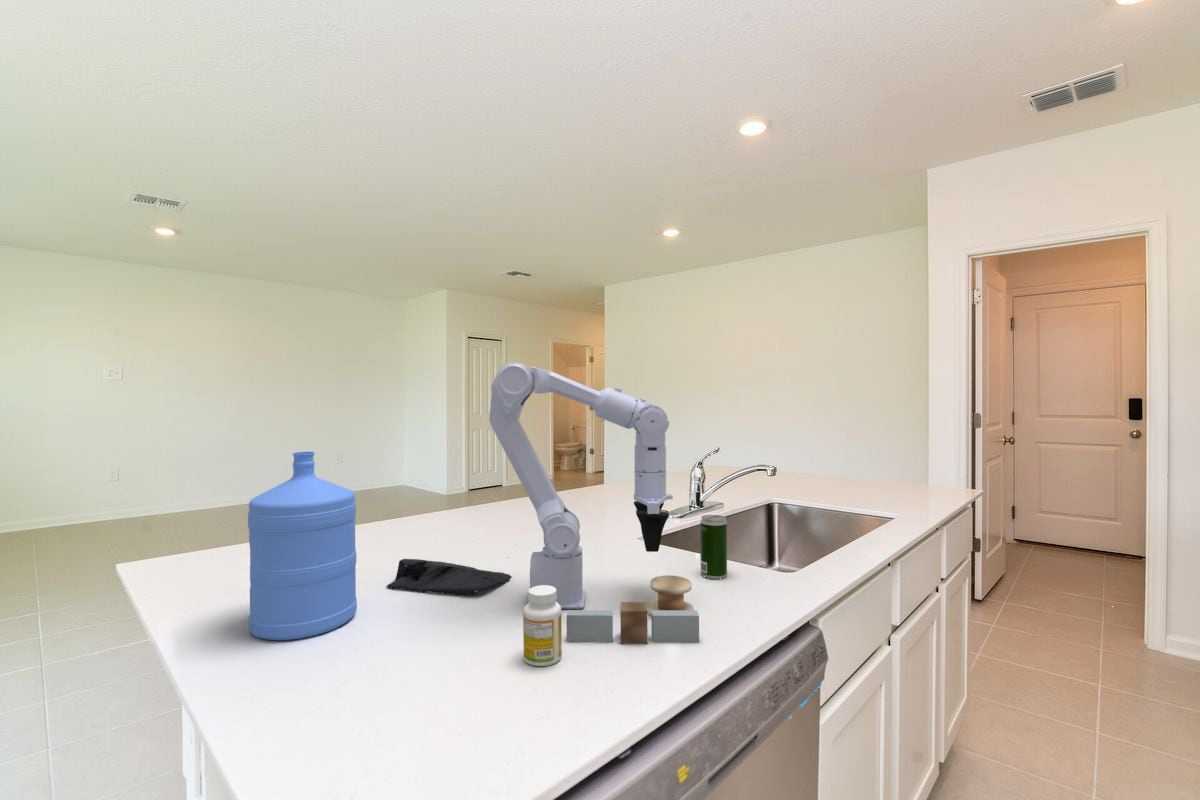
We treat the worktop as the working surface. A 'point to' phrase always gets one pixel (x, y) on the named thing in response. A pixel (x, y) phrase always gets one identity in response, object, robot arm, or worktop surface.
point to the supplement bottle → (542, 627)
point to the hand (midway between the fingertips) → (650, 545)
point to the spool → (670, 593)
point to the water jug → (302, 556)
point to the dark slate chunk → (444, 578)
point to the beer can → (714, 546)
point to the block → (634, 623)
